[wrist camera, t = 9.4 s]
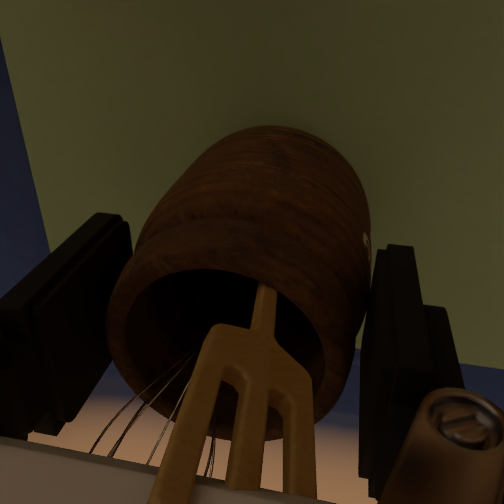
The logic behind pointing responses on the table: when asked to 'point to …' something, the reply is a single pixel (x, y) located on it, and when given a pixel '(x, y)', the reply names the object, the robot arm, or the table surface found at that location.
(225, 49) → the desk mat
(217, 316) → the utensil holder
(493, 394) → the table surface
